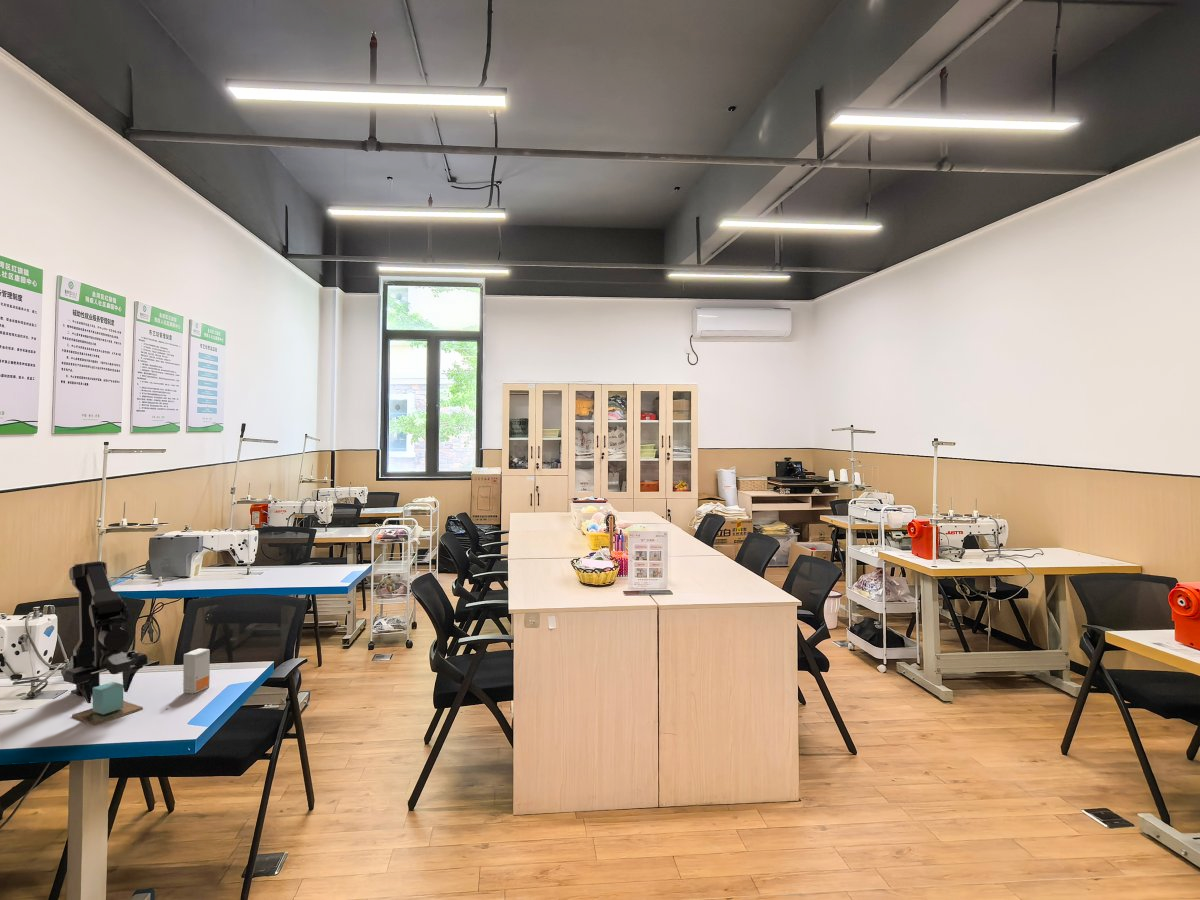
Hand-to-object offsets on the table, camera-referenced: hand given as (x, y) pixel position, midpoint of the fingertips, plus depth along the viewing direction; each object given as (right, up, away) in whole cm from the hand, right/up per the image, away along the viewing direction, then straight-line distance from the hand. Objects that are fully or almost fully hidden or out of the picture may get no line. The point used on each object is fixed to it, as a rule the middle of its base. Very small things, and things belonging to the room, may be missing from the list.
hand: (107, 697), depth 184 cm
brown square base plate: (0, -4, 0) cm, 4 cm away
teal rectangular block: (0, -3, 0) cm, 3 cm away
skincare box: (+14, -5, +17) cm, 23 cm away
